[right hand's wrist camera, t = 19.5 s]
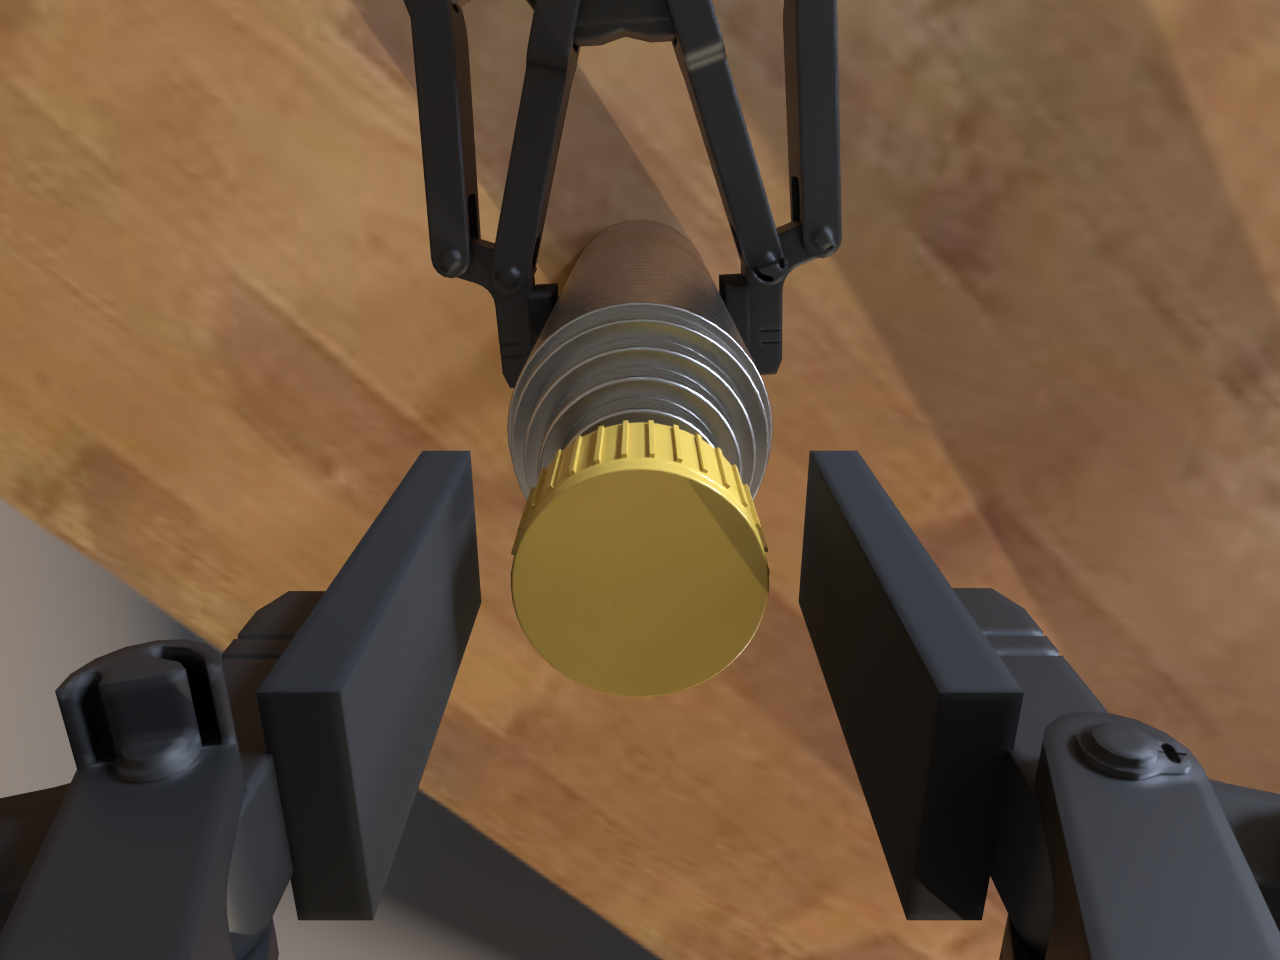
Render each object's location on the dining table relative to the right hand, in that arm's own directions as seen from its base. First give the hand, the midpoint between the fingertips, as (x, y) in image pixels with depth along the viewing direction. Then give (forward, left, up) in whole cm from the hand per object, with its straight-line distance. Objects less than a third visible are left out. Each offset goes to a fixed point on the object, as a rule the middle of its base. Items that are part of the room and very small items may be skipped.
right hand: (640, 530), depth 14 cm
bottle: (0, 0, -24) cm, 24 cm away
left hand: (+2, +5, -17) cm, 18 cm away
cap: (0, 0, +2) cm, 2 cm away
